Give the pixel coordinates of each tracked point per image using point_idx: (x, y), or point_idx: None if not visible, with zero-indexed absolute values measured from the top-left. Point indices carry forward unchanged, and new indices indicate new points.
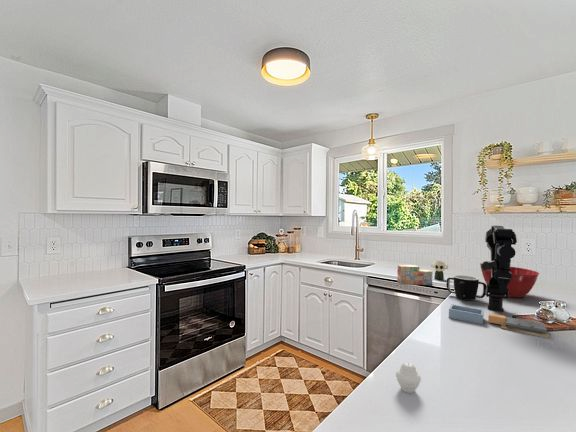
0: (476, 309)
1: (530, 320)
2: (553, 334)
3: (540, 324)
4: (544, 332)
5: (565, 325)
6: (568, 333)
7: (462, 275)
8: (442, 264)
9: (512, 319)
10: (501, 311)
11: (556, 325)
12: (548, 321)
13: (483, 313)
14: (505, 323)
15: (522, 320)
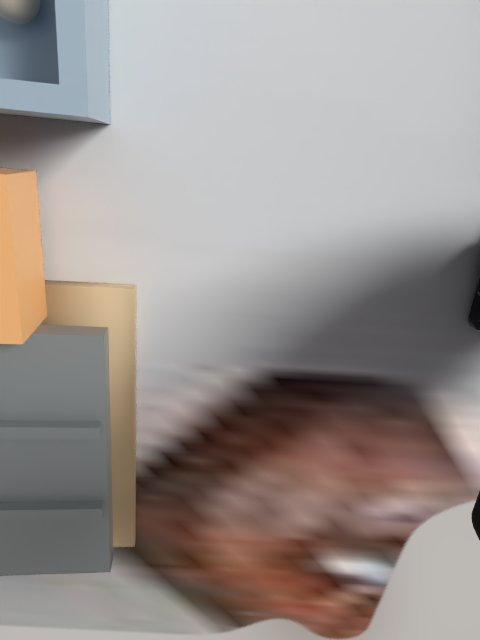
0: (59, 9)
1: (89, 512)
2: None
3: (59, 554)
4: None
5: (319, 622)
6: (144, 623)
7: None
8: None
9: (43, 389)
10: (471, 311)
11: (287, 589)
12: (359, 562)
13: (31, 113)
14: None
15: (80, 457)
